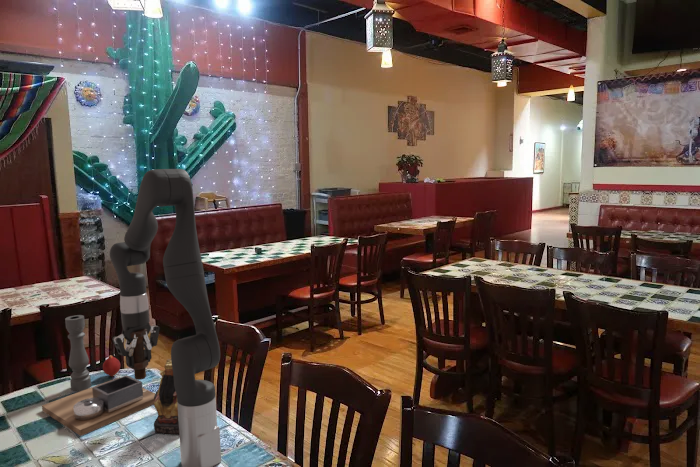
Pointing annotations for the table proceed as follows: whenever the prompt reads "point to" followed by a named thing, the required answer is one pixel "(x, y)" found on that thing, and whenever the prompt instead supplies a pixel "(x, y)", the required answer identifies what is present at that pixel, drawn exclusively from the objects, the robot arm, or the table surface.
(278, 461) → the table surface
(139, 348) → the bolt
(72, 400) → the wooden cutting board
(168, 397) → the statue
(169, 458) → the table surface
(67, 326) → the candle holder
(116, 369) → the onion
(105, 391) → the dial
